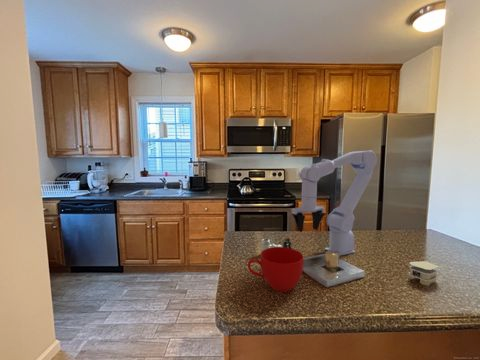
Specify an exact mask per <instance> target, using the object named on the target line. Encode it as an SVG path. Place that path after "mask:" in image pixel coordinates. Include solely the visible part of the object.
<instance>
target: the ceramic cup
mask: <svg viewBox="0 0 480 360" xmlns="http://www.w3.org/2000/svg"><path fill="white" fill-rule="evenodd" d="M259 258H260V260H259V259H257V258H253V259H250V260H248V263H247V268H248V270H249V272H250V273H251V274H252V275H255V276H257V277H259V278H263V279H265V281H266V283H267V284H268V285H269V286H270V287H271V289H272V290H274V291H277V292H281V293H286V292H290V291H291V290H293V288H294V287H296V285H298V283H299V281H300V279H301V278H302V274H303V271H302V270H303V258H304V255H303V253H301V252H300V251H298V250H296V249H293V248H292V249H290V248H284V247H274V248H268V249H265V250H263V251H262V252H261V251H260V257H259ZM252 263H257V264H258V265H259V266H260V269H261V271H262V273H259V272H256V271H254V270H253V269H252V268H251V264H252Z"/></svg>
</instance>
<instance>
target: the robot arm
mask: <svg viewBox="0 0 480 360" xmlns="http://www.w3.org/2000/svg"><path fill="white" fill-rule="evenodd" d="M378 162H379V161H378V158H377V154H376V152H374V151H373V150H372V149H370V150H358V151H357V150H353V151H351V152H347V153H345V154H343V155H341V156H339V157H336V158H334V159H331V160H330V159H328V158H327V159H326V158H322V159H321V160H320V162H317V163H312V164H311V165H310V166H304V167H303V168H301V169H300V173H299V174H298V175H299V178H300V180H301V204H300V206H299V207H294V208H291V214H292V217H293V218H294V221H295V224H296V228H297V231H298V232H300V233H302V232H303V231H304V221H305V218H306V215H303V214H306V213H307V214H308V213H309V214H310V213H311V217H312V229H313V230H316V231H318V230H319V226H320V223H321V221H322V219H323V218H324V216H325V206H322V205H321V206H318V205H317V197H318V196H317V194H318V182H319V180H320V179H321V178H322V177H325V176H328V175H329V174H332V173H334V171H335V169H336V168H339V167H342V166H345V165H347V164H350V166H351V168H352V169H353V171H354V172H355V174H356V176H355V177H354V179H353V181H352V183H351V184H350V186H349V188H348V190H347V192H346V193H345V195H344V197H343V199H342V201H341V202H340V205H339V206H337V207H335V208H333V209H332V211H331V212H330V213H329V214H328V215H327V216H326V219H325V221H326V224H327V226H328V228H329V247H325V248H324V250H326V252H327V251H333V252H335V251H338V252H340V253H339V257H340V256H345V255H348V254H349V255H350V254H353V253H356V250H355V236H354V233H353V231H352V229H353V228H354V227H353V226H354V221H355V219H356V217H355V215H354V210H355V208H356V207H357V205H358V203H359V201H360V199H361V197H362V196H363V193H364V192H365V190H366V188H367V186H368V184H369V183H370V181H371V179H372V177H373V173H374V169H375V167H376V165H377V163H378Z"/></svg>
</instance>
